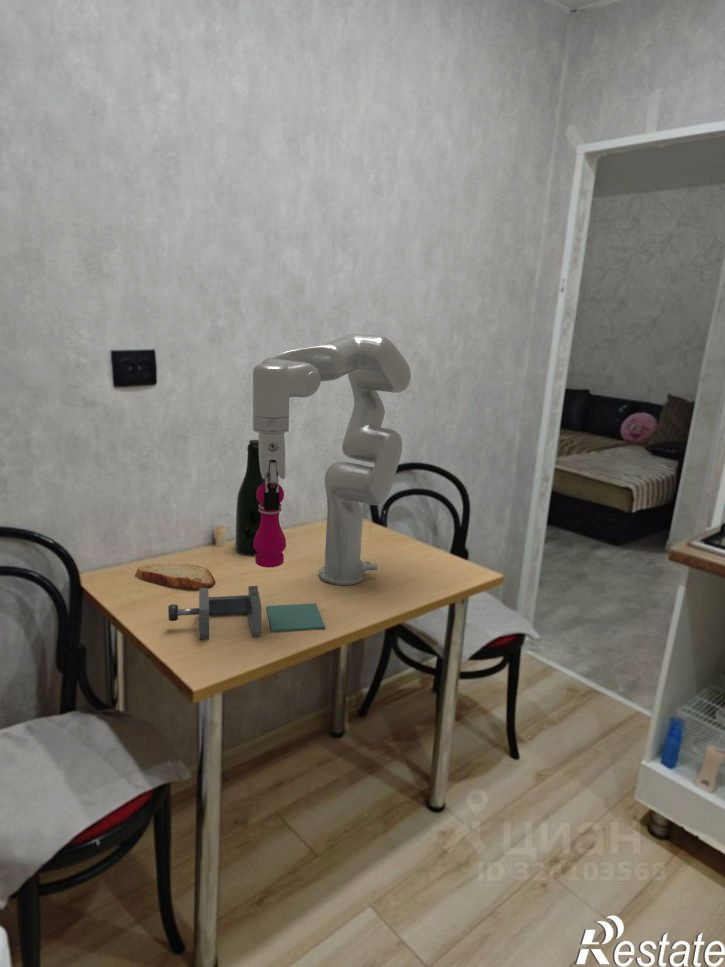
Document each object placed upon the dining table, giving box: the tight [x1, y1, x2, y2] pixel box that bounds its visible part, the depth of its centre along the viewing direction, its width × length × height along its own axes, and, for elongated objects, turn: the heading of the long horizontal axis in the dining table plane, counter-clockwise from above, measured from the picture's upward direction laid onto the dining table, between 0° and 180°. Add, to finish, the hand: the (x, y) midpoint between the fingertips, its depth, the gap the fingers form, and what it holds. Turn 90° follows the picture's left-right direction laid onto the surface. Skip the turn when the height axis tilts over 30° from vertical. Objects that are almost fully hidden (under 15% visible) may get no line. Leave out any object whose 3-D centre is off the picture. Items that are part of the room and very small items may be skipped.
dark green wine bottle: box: [234, 439, 263, 556], centre depth 186 cm, size 10×10×33 cm
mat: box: [265, 603, 326, 633], centre depth 149 cm, size 12×12×1 cm
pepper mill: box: [253, 476, 287, 568], centre depth 141 cm, size 7×7×20 cm
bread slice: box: [134, 563, 216, 591], centre depth 166 cm, size 18×18×4 cm
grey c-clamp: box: [167, 585, 262, 641], centre depth 143 cm, size 20×13×7 cm, turn 104°
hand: (270, 504), depth 140 cm, fingers closed on pepper mill, 6 cm apart
